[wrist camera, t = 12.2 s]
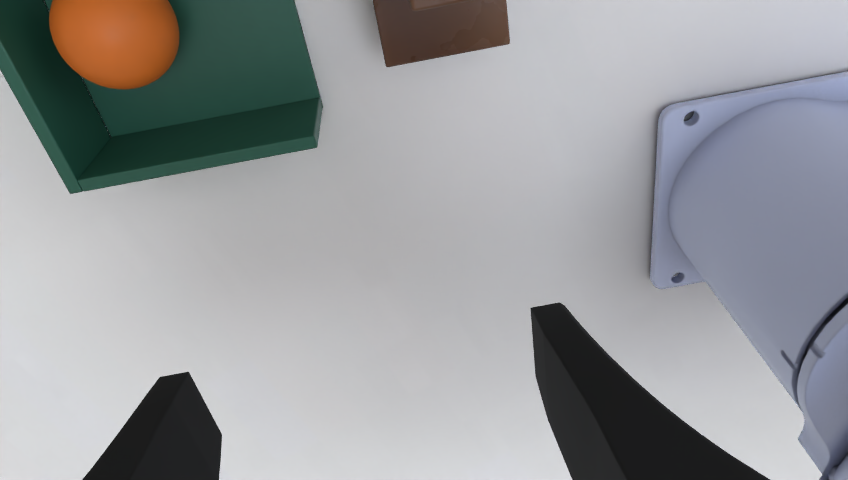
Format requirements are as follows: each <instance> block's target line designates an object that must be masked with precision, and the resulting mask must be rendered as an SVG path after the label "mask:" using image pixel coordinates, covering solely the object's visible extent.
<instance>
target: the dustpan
mask: <svg viewBox="0 0 848 480" xmlns="http://www.w3.org/2000/svg"><path fill="white" fill-rule="evenodd" d="M44 1H45V3H46V5H47V7H48V9H49V11H50V7H51V3H52V0H44ZM44 1H43V0H0V70H1V72H2V74H3V75H4V77H5V79H6V81H7V82H8V84H9V86H10V88H11V90H12V91H13V93H14V95H15V97H16V98H17V100H18V102H19V104H20V106H21V107H22V109H23V111H24V113H25V114H26V116H27V118H28V120H29V122H30V123H31V125H32V127H33V129H34V130H35V132H36V134H37V136H38V138H39V139H40V141H41V143H42V145H43V146H44V148H45V150H46V152H47V154H48V155H49V157H50V159H51V161H52V162H53V164H54V166H55V168H56V170H57V171H58V173H59V175H60V177H61V178H62V180H63V182H64V184H65V186H66V187H67V189H68V191H69V193H70V194H73V193H78V192H82V191H89V190H94V189H99V188H105V187H110V186H115V185H121V184H126V183H131V182H137V181H142V180H147V179H153V178H158V177H163V176H169V175H174V174H179V173H185V172H190V171H195V170H201V169H206V168H211V167H217V166H222V165H227V164H233V163H238V162H243V161H249V160H254V159H259V158H265V157H270V156H275V155H281V154H286V153H291V152H297V151H302V150H307V149H313V148H317V146H318V138H319V131H320V123H321V115H322V108H323V105H322V101H321V98H320V94H319V90H318V87H317V83H316V79H315V76H314V72H313V68H312V65H311V61H310V57H309V54H308V50H307V46H306V43H305V39H304V35H303V31H302V28H301V24H300V20H299V17H298V13H297V9H296V6H295V2H294V0H168V1H169V3H170V4H171V6H172V8H173V10H174V13H175V15H176V18H177V21H178V26H179V47H178V51H177V54H176V57H175V59H174V61H173V63H172V65H171V66H170V68H169V69H168V70H167V71H166V72H165V73H164V74H163V75H162V76H161V77H160V78H159V79H157V80H156V81H154V82H152V83H150V84H148V85H146V86H143V87H139V88H135V89H112V88H107V87H103V86H100V85H97V84H95V83H93V82H90V81H89V80H87V79H85V78H83V77H82V78H83V80H84V82H85V84H84V82H83V80H82V78H81V76H80V75H79V74H78V73H77V72H75V71H74V70H73V69H72V68H71V67H70V66H69V65H68V64H67V63H66V62H65V61H64V59H63V58H62V57H61V55H60V54H59V52H58V50H57V48H56V46H55V44H54V42H53V39H52V36H51V32H50V26H49V11H48V9H47V7H46V5H45V3H44ZM85 85H86V86H85ZM86 87H87V88H86ZM87 89H88V91H89V93H90V95H91V97H92V99H93V101H94V103H95V105H96V107H97V109H98V111H99V113H100V115H101V117H102V119H103V121H104V123H105V125H106V127H107V129H108V131H109V133H108V131H107V129H106V127H105V125H104V123H103V121H102V119H101V117H100V115H99V113H98V111H97V109H96V107H95V105H94V103H93V101H92V99H91V97H90V95H89V93H88V91H87ZM109 134H110V135H109ZM110 136H111V137H110Z"/></svg>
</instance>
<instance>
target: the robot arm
mask: <svg viewBox="0 0 848 480" xmlns="http://www.w3.org/2000/svg"><path fill="white" fill-rule="evenodd" d="M692 111H694V115H693V117H692V118H691V119H690V120H687V121H684V118H685V116H686V115H687V114H688V113H689V112H692ZM676 273H679V274H678V275H677V276H675V277H672V276H673V275H674V274H676ZM650 279H651V282H652V283H653V285H654V286H655V287H656V288H659V289H666V288H671V287H677V286H683V285H688V284H694V283H699V282H706V283H707V284H708V286H709V287H710V288H711V290H712V291H713V292H714V294H715V295H716V296H717V298H718V299H719V300H720V302H721V303H722V304H723V306H724V307H725V309H726V310H727V311H728V313H729V314H730V315H731V317H732V318H733V319H734V321H735V322H736V323H737V325H738V326H739V327H740V329H741V330H742V331H743V333H744V334H745V335H746V337H747V338H748V340H749V341H750V342H751V344H752V345H753V346H754V348H755V349H756V350H757V352H758V353H759V354H760V356H761V357H762V358H763V360H764V361H765V362H766V364H767V365H768V366H769V368H770V369H771V370H772V372H773V373H774V375H775V376H776V377H777V379H778V380H779V381H780V383H781V384H782V385H783V387H784V388H785V389H786V391H787V392H788V393H789V395H790V396H791V397H792V399H793V400H794V401H795V403H796V404H797V406H798V407H799V408H800V410H801V411H802V412H803V415H804V419H805V420H804V427H803V430H802V432H801V434H800V436H799V438H798V440H799V442H800V443H801V445H802V446H803V447H804V449H805V450H806V452H807V453H808V455H809V456H810V457H811V459H812V460H813V462H814V463H815V465H816V466H817V467H818V469H819V470H820V472H821V473H822V476H821V477H820V479H819V480H848V71H847V72H841V73H836V74H831V75H825V76H820V77H814V78H809V79H804V80H798V81H793V82H788V83H782V84H777V85H772V86H766V87H761V88H756V89H750V90H745V91H740V92H734V93H729V94H723V95H718V96H713V97H707V98H702V99H697V100H691V101H686V102H681V103H675V104H672V105H669V106H667V107H666V108H665V109H663V111H662V112H661V114H660V116H659V120H658V137H657V156H656V175H655V194H654V213H653V232H652V250H651V269H650ZM531 320H532V333H533V347H534V360H535V374H536V379H537V383H538V386H539V390H540V393H541V397H542V401H543V404H544V407H545V411H546V414H547V418H548V421H549V423H550V426H551V428H552V431H553V433H554V436H555V438H556V441H557V443H558V446H559V448H560V450H561V453H562V455H563V458H564V460H565V463H566V465H567V467H568V470H569V472H570V475H571V477H572V479H573V480H770V479H768V478H766V477H765V476H763V475H762V474H760V473H758V472H757V471H755V470H754V469H752V468H750V467H749V466H747V465H746V464H744V463H743V462H741V461H739V460H738V459H736V458H735V457H733V456H731V455H730V454H728V453H727V452H725V451H724V450H723V449H721V448H720V447H718V446H717V445H715V444H714V443H713V442H711V441H710V440H708V439H707V438H705V437H704V436H703V435H701V434H700V433H699V432H697V431H696V430H695V429H693V428H692V427H691V426H689V425H688V424H687V423H685V422H684V421H683V420H681V419H680V418H679V417H678V416H676V415H675V414H674V413H673V412H671V411H670V410H669V409H668V408H666V407H665V406H664V405H663V404H662V403H660V402H659V401H658V400H657V399H656V398H655V397H653V396H652V395H651V394H650V393H649V392H648V391H647V390H645V389H644V388H643V387H642V386H641V385H640V384H639V383H638V382H637V381H635V380H634V379H633V378H632V377H631V376H630V375H629V374H628V373H627V372H626V371H625V370H624V369H623V368H622V367H621V366H620V365H619V364H618V363H617V362H616V361H615V360H613V359H612V358H611V357H610V356H609V355H608V354H607V353H606V352H605V351H604V350H603V348H602V347H601V346H600V345H599V344H598V343H597V342H596V341H595V340H594V339H593V338H592V337H591V336H590V335H589V334H588V332H587V331H586V330H585V329H584V328H583V327H582V326H581V325H580V323H579V322H578V321H577V320H576V319H575V318H574V316H573V315H572V314H571V313H570V312H569V310H568V309H567V308H566V307H565V306H564V305H563V304H561V303H554V304H549V305H543V306H538V307H533V308H531ZM221 441H222V434H221V432H220V430H219V428H218V426H217V425H216V423H215V421H214V419H213V417H212V415H211V413H210V411H209V409H208V407H207V406H206V404H205V402H204V400H203V398H202V396H201V394H200V392H199V390H198V389H197V387H196V385H195V383H194V381H193V379H192V377H191V375H190V373H189V372H185V373H179V374H174V375H169V376H163V377H160V378H159V379H158V380H157V382H156V383H155V384H154V385H153V387H152V388H151V389H150V391H149V392H148V393H147V395H146V396H145V398H144V399H143V400H142V402H141V403H140V404H139V406H138V407H137V409H136V410H135V411H134V413H133V414H132V415H131V417H130V418H129V419H128V421H127V422H126V424H125V425H124V426H123V428H122V429H121V430H120V432H119V433H118V434H117V436H116V437H115V438H114V440H113V441H112V442H111V444H110V445H109V446H108V448H107V449H106V450H105V452H104V453H103V454H102V456H101V457H100V458H99V460H98V461H97V462H96V463H95V465H94V466H93V467H92V469H91V470H90V471H89V472H88V473H87V475H86V476H85V477H84V478H83V480H219V471H220V458H221Z"/></svg>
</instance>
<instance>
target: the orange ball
mask: <svg viewBox="0 0 848 480" xmlns="http://www.w3.org/2000/svg"><path fill="white" fill-rule="evenodd" d="M49 26H50V32H51V36H52V39H53V42H54V44H55V46H56V48H57V50H58V52H59V54H60V55H61V57H62V58H63V59H64V61H65V62H66V63H67V64H68V65H69V66H70V67H71V68H72V69H73V70H74V71H75V72H77V73H78V74H79V75H80V76H82V77H83V78H85V79H87V80H89V81H90V82H93V83H95V84H97V85H100V86H103V87H107V88H112V89H135V88H139V87H143V86H146V85H148V84H150V83H152V82H154V81H156V80H157V79H159V78H160V77H161V76H162V75H163V74H164V73H165V72H166V71H167V70H168V69H169V68H170V66H171V65H172V63H173V61H174V59H175V57H176V54H177V51H178V47H179V26H178V21H177V18H176V15H175V13H174V10H173V8H172V6H171V4H170V3H169V1H168V0H52V3H51V7H50V12H49Z"/></svg>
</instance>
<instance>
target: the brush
mask: <svg viewBox="0 0 848 480" xmlns="http://www.w3.org/2000/svg"><path fill="white" fill-rule="evenodd" d="M373 5H374V10H375V15H376V20H377V25H378V30H379V35H380V40H381V44H382V49H383V54H384V59H385V64H386V67H392V66H397V65H402V64H407V63H413V62H418V61H423V60H428V59H434V58H439V57H444V56H449V55H455V54H460V53H465V52H470V51H476V50H481V49H486V48H491V47H497V46H502V45H507V44H509V43H510V38H509V26H508V15H507V3H506V0H373Z"/></svg>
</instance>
